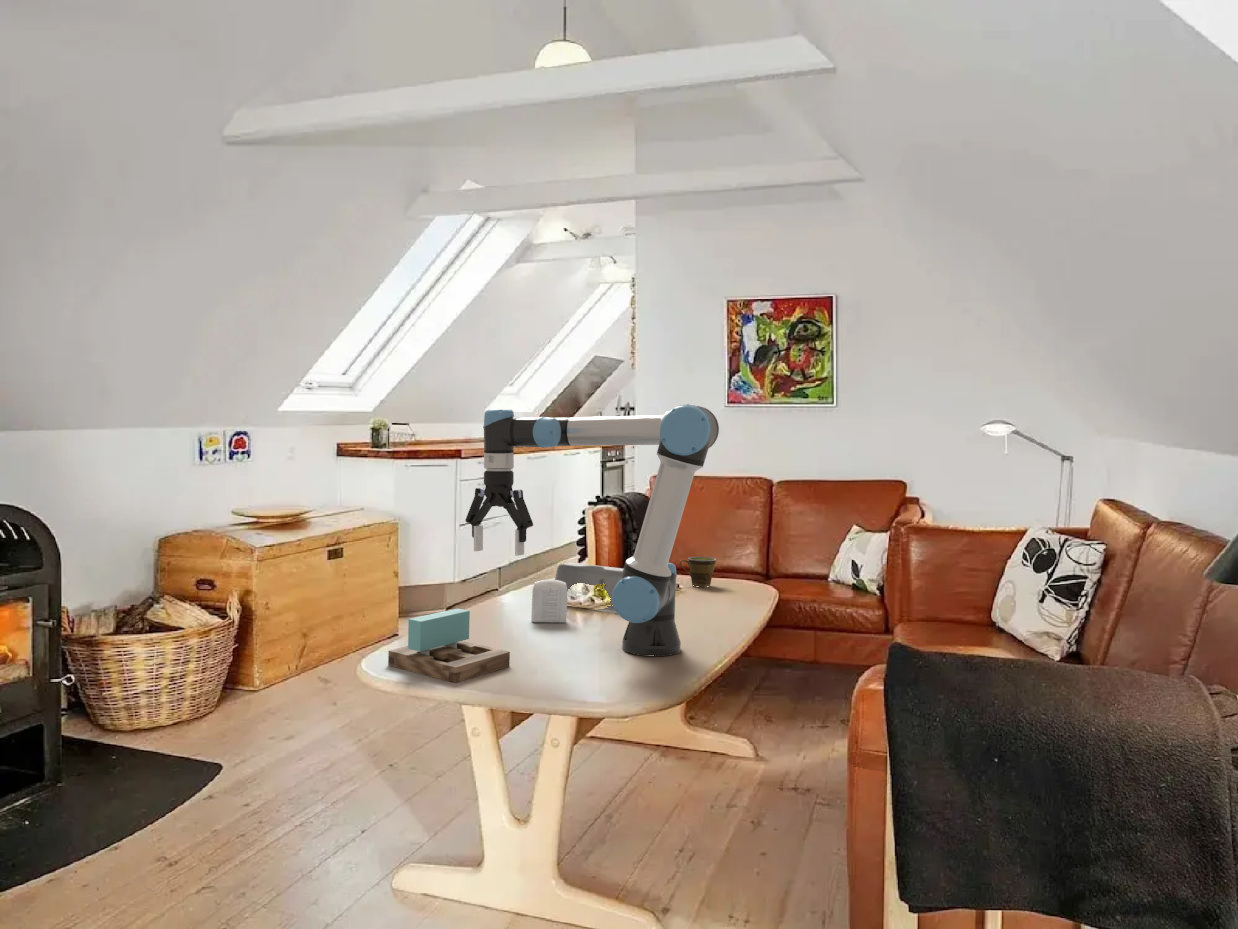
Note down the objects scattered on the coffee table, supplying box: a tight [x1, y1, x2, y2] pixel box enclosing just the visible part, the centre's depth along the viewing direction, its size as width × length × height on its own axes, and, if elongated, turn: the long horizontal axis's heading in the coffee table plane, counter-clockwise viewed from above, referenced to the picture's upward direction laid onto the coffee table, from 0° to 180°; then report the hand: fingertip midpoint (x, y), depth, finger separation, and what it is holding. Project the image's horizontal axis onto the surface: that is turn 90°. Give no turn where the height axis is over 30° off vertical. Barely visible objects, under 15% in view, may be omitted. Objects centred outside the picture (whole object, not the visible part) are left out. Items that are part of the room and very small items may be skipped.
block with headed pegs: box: [407, 608, 471, 656], centre depth 217 cm, size 4×16×12 cm, turn 145°
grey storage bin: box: [554, 561, 624, 614], centre depth 291 cm, size 25×16×12 cm, turn 62°
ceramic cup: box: [679, 556, 717, 588], centre depth 329 cm, size 13×10×10 cm
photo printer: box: [530, 578, 568, 624], centre depth 265 cm, size 10×4×12 cm, turn 98°
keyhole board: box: [387, 640, 511, 684], centre depth 215 cm, size 22×18×4 cm
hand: (498, 553), depth 232 cm, fingers open, 13 cm apart
